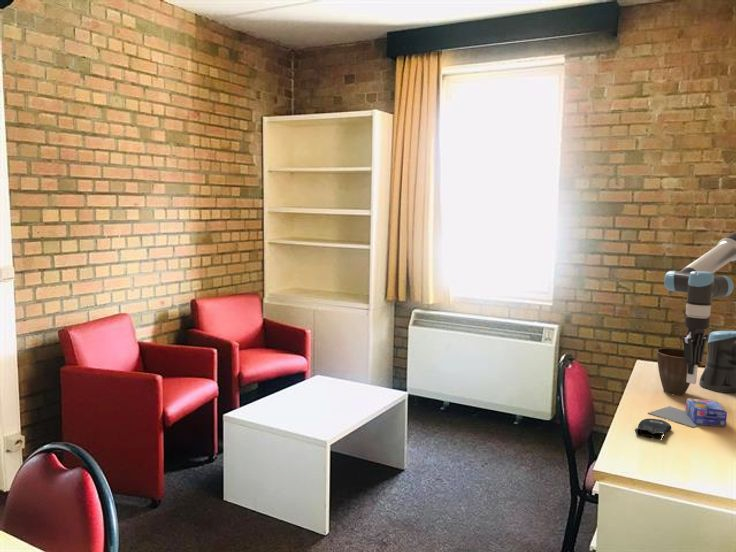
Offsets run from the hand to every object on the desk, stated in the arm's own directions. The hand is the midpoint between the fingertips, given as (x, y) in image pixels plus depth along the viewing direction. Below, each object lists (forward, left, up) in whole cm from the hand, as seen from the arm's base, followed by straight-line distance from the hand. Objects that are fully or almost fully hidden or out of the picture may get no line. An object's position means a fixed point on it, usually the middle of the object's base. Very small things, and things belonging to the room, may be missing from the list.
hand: (691, 382), depth 222 cm
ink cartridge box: (-4, +2, -8) cm, 9 cm away
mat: (+5, 0, -11) cm, 12 cm away
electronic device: (+27, +3, -12) cm, 30 cm away
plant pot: (-21, -16, -12) cm, 29 cm away
